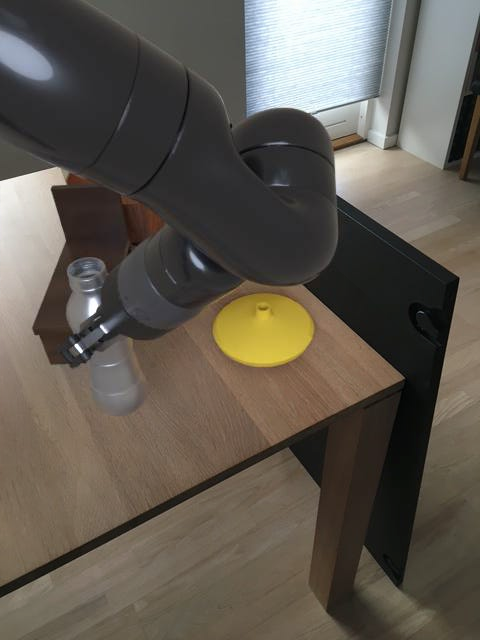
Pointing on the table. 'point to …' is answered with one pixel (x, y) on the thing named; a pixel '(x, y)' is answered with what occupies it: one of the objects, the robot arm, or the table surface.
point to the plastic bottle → (115, 362)
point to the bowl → (131, 214)
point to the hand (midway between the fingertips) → (95, 334)
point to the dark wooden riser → (80, 252)
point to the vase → (263, 330)
